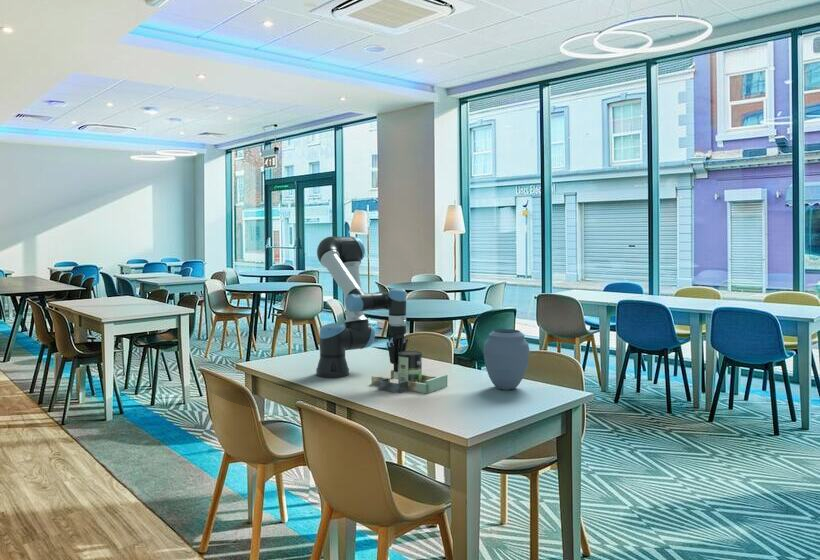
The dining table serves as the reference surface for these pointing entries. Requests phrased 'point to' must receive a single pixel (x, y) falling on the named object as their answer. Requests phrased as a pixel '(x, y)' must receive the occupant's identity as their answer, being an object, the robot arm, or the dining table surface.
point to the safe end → (433, 384)
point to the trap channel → (395, 387)
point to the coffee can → (409, 366)
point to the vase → (506, 357)
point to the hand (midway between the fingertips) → (397, 378)
